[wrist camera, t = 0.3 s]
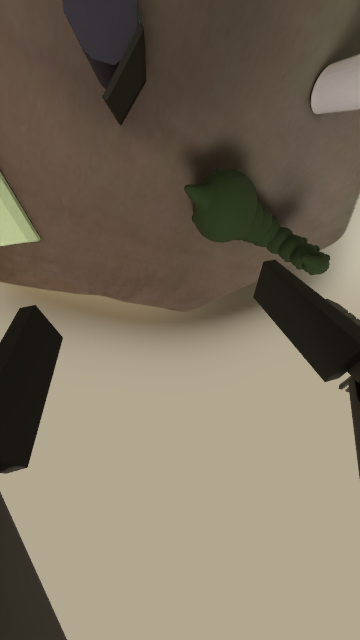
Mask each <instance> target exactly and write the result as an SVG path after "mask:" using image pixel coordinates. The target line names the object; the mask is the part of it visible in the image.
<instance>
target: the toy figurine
mask: <svg viewBox="0 0 360 640" xmlns="http://www.w3.org/2000/svg"><path fill="white" fill-rule="evenodd" d="M184 189H185V192H186V193H187V195H188V196H189V197H190V199H191V200H192V201H193V216H192V221H193V222H194V223H195V225H196V227H197V229H198V230H199V232H200V233H201V234H202V235H203V236H204V237H205V238H207V239H209V240H211V241H215V242H229V241H231V240H234V239H235V240H243V241H246V242H248V243H253V244H254V245H256V246H261V247H267V249H268V250H269V251H270V252H271V253H274V254H279V256H280V257H281V258H282V259H284V261H285V262H290V261H291V263H292V264H293V265H295V266H296V268H297V269H304V270H305V271H306V272H308V273H309V274H310V275H315V274H322V273H324V272H325V271H327V269H328V268H329V260H330V256H329V255H327V254H324V253H322V252H319V250H320V249H319V246H313V245H312V244H308V243H307V239H306V238H301V237H300V236H296V235H293V233H292V231H291V230H290V229H288V228H285V227H281V226H280V224H279V222H278V221H277V219H276V217H275V216H272V215H271V213H270V211H269V210H268V209H267V208H266V207H263V206H261V204H260V202H259V201H258V200H257V193H256V190H255V187H254V185H253V183H252V181H251V180H250V179H249V178H248V177H247V176H246V175H245V174H244V173H242V172H241V171H239V170H236V169H222V170H219V169H215V170H213V171H212V173H211V175H210V176H209V177H207V178H206V179H205V180H204V182H203V183H202V184H201V185H186V186H185V188H184Z"/></svg>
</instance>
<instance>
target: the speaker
mask: <svg viewBox="0 0 360 640" xmlns="http://www.w3.org/2000/svg"><path fill="white" fill-rule="evenodd" d="M63 8H64V13H65V15H66V17H67V19H68V21H69V23H70V25H71V27H72V29H73V31H74V33H75V35H76V37H77V39H78V41H79V43H80V45H81V47H82V49H83V51H84V53H85V55H86V57H87V59H88V61H89V62H90V64H91V66H92V68H93V70H94V72H95V74H96V76H97V78H98V80H99V82H100V83H101V85H102V86H103V87H104V88H105V89H106V91H105V92H104V94H103V96H102V97H103V99H104V100H105V102H106V104H107V105H108V107H109V108H110V110H111V112H112V113H113V115H114V116H115V118H116V120H117V121H118V123H119V124H120V125H122V123H123V121H124V119H125V118H126V116H127V114H128V112H129V111H130V109H131V107H132V105H133V104H134V102H135V100H136V98H137V96H138V95H139V93H140V91H141V89H142V88H143V86H144V84H145V82H146V66H145V40H144V28H143V27H142V25H141V23H140V21H139V14H138V2H137V0H63Z"/></svg>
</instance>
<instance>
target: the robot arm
mask: <svg viewBox="0 0 360 640" xmlns="http://www.w3.org/2000/svg"><path fill="white" fill-rule="evenodd" d="M254 298H255V299H256V301H257V302H258V303H259V304H260V305H261V307H262V308H263V309H264V310H265V312H266V313H267V314H268V315H269V316H270V317H271V319H272V320H273V321H274V322H275V323H276V325H277V326H278V327H279V328H280V329H281V330H282V332H283V333H284V334H285V335H286V336H287V338H289V340H290V341H291V342H292V343H293V345H294V346H295V347H296V348H297V349H298V350H299V352H300V353H301V354H302V355H303V357H304V358H305V359H306V360H307V361H308V363H309V364H310V365H311V366H312V367H313V368H314V370H315V371H316V372H317V373H318V374H319V376H320V377H321V378H322V379H323V380H324V382H327V381H330V380H334V379H337V378H340V377H341V376H342V375H343V374H345V373H346V372H348V373H349V374H350V375H351V376H350V377H349V378H348V379H346V380H345V381H344V382H343V383H341V384H340V385H339V389H343V388H345V387H346V386H347V385H349V387H348V388H347V389H346V391H347V392H349V393H350V401H351V409H352V417H353V426H354V435H355V443H356V451H357V460H358V468H359V476H360V320H359V319H356V317H355V316H354V315H352V314H351V313H348V311H347V310H346V309H344V308H343V307H342V306H340V305H339V304H337V303H335V302H333V301H331V300H329V299H324V298H323V297H322V296H320V295H319V294H318V293H317V292H315V291H314V290H313V289H311V288H310V287H309V286H307V285H306V284H305V283H304V282H303V281H301V280H300V279H299V278H297V277H296V276H295V275H294V274H292V273H291V272H290V271H289V270H287V269H286V268H285V267H283V266H282V265H281V264H280V263H278V262H277V261H276V260H271V261H265V262H263V265H262V269H261V272H260V276H259V279H258V283H257V286H256V290H255V293H254ZM62 339H63V337H62V336H61V335H60V334H59V333H58V331H57V330H56V329H55V328H54V327H53V325H52V324H51V323H50V322H49V321H48V319H47V318H46V317H45V316H44V315H43V313H42V312H41V311H40V310H39V309H38V308H37V306H36V305H34V306H28V307H23V308H20V309H19V311H18V312H17V314H16V316H15V318H14V319H13V321H12V323H11V325H10V326H9V328H8V330H7V332H6V333H5V335H4V337H3V339H2V340H1V342H0V473H10V472H13V471H17V470H20V469H24V468H27V467H28V464H29V460H30V456H31V453H32V449H33V445H34V442H35V438H36V435H37V431H38V427H39V423H40V420H41V416H42V412H43V409H44V405H45V401H46V398H47V394H48V390H49V387H50V383H51V379H52V376H53V372H54V368H55V365H56V361H57V357H58V354H59V350H60V346H61V343H62ZM0 640H67V639H66V637H65V635H64V632H63V630H62V628H61V626H60V624H59V621H58V619H57V617H56V615H55V613H54V610H53V609H52V606H51V604H50V602H49V599H48V597H47V595H46V593H45V590H44V588H43V586H42V584H41V581H40V579H39V577H38V575H37V573H36V571H35V568H34V566H33V564H32V562H31V559H30V557H29V555H28V553H27V551H26V548H25V546H24V544H23V542H22V539H21V537H20V535H19V533H18V530H17V528H16V526H15V524H14V522H13V519H12V517H11V515H10V513H9V510H8V508H7V506H6V504H5V502H4V499H3V498H2V495H1V493H0Z"/></svg>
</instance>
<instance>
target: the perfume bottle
mask: <svg viewBox="0 0 360 640" xmlns="http://www.w3.org/2000/svg"><path fill="white" fill-rule="evenodd" d="M311 108H312V110H313V112H314V113H315V114H327V113H336V112H344V111H353V110H360V54H359V55H356V56H353V57H350V58H347V59H344V60H341V61H338V62H335V63H333V64H331V65H329V66H328V67H327V68H325V69H324V71H323V72H322V73H321V75H320V76H319V78H318V79H317V81H316V83H315V86H314V89H313V92H312V96H311Z"/></svg>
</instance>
